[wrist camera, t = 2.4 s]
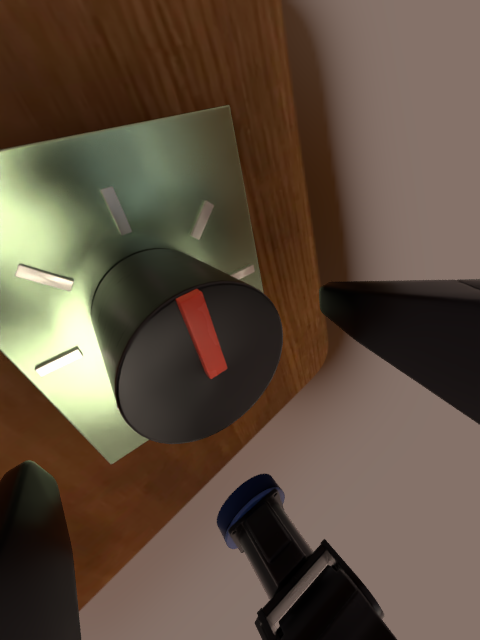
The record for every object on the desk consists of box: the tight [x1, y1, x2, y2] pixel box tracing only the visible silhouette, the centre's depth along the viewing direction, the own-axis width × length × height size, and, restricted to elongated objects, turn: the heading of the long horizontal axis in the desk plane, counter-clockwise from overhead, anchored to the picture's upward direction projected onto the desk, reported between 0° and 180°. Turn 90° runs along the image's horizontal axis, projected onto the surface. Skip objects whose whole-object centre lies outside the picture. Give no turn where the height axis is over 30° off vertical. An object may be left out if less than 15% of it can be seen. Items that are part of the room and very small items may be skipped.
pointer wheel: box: [92, 249, 283, 444], centre depth 9 cm, size 5×5×5 cm
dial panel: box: [0, 105, 264, 464], centre depth 12 cm, size 12×10×3 cm
